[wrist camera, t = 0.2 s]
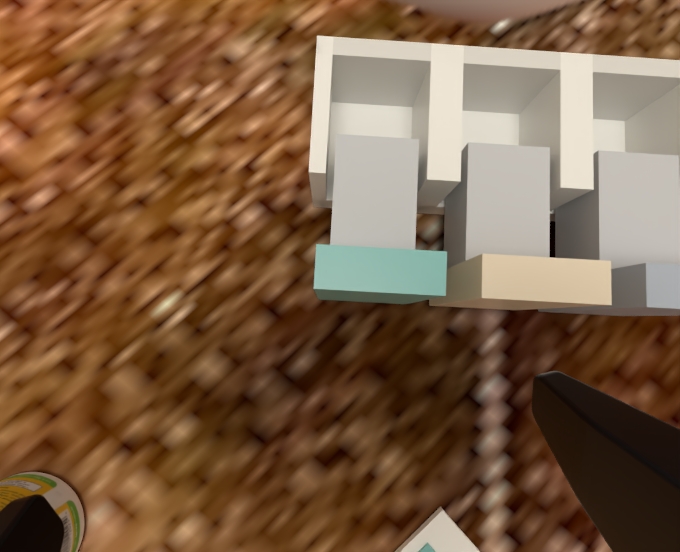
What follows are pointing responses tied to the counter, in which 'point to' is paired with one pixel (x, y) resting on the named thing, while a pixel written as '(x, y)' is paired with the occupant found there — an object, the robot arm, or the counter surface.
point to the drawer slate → (628, 232)
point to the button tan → (511, 237)
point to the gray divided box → (489, 108)
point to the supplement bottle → (57, 497)
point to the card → (438, 536)
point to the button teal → (376, 227)
